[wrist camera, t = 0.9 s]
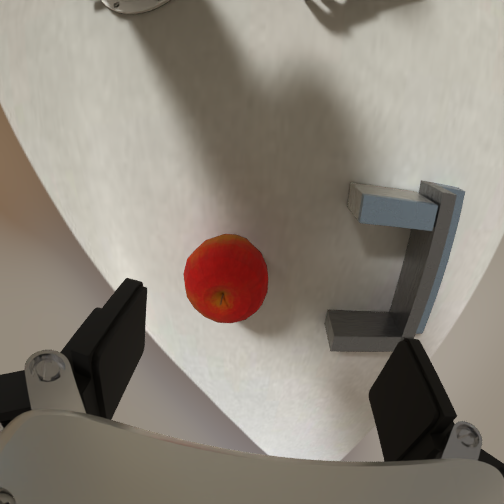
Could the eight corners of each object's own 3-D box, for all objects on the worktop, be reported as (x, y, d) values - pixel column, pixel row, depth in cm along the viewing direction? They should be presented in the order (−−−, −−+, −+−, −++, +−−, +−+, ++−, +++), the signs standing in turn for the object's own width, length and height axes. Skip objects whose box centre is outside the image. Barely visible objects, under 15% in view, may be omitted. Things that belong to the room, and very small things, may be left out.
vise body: (324, 323, 45) (330, 351, 40) (351, 169, 36) (365, 180, 31) (418, 325, 45) (431, 350, 39) (457, 187, 36) (481, 200, 30)
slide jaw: (347, 206, 38) (359, 222, 32) (350, 182, 37) (364, 195, 31) (412, 214, 38) (432, 231, 32) (416, 191, 36) (438, 205, 31)
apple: (185, 233, 41) (156, 279, 30) (251, 208, 39) (244, 248, 28) (216, 293, 44) (200, 351, 33) (278, 273, 42) (281, 329, 31)
